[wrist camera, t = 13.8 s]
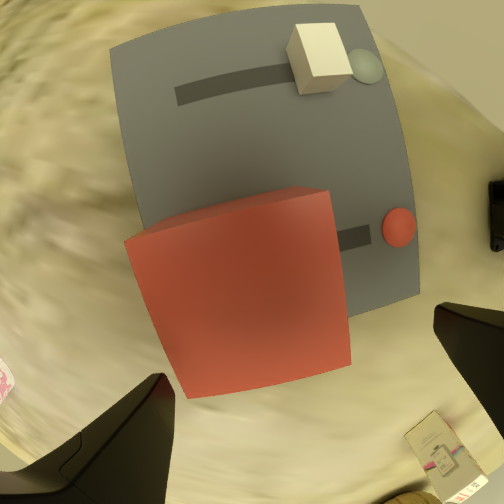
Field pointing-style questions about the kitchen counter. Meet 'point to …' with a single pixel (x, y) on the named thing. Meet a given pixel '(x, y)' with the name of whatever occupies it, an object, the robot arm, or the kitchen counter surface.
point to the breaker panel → (272, 134)
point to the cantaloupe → (414, 498)
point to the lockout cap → (246, 291)
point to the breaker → (317, 58)
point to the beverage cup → (5, 380)
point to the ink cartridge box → (445, 460)
